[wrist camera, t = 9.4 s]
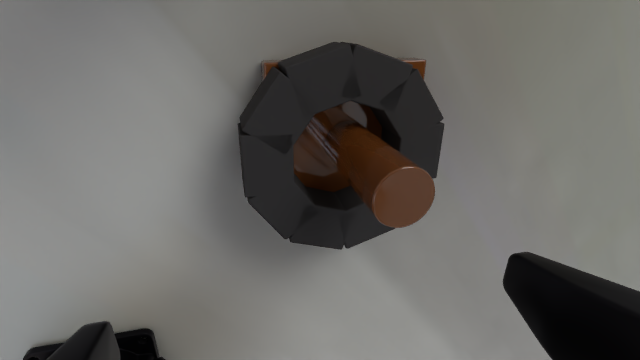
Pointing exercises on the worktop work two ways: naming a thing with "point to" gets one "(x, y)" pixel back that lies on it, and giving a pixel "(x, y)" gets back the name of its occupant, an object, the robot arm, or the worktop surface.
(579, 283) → the robot arm
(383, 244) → the worktop surface
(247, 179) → the rubber ring
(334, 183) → the copper peg on plate
